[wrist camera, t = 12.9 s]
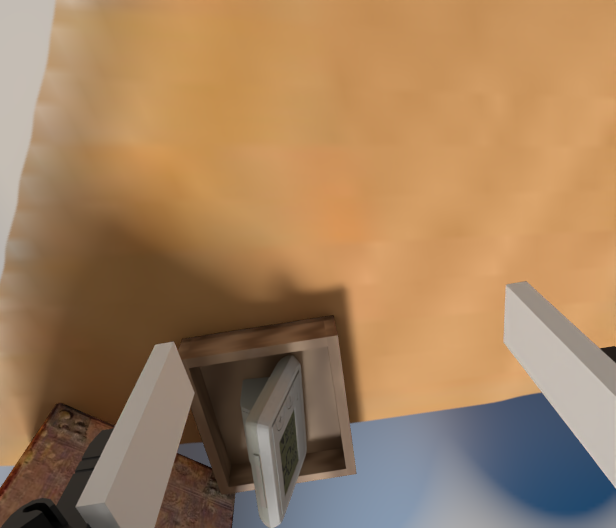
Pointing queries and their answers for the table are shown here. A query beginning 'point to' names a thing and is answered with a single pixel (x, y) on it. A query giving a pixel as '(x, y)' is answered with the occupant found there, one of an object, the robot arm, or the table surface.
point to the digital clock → (275, 436)
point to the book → (68, 453)
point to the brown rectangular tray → (258, 364)
